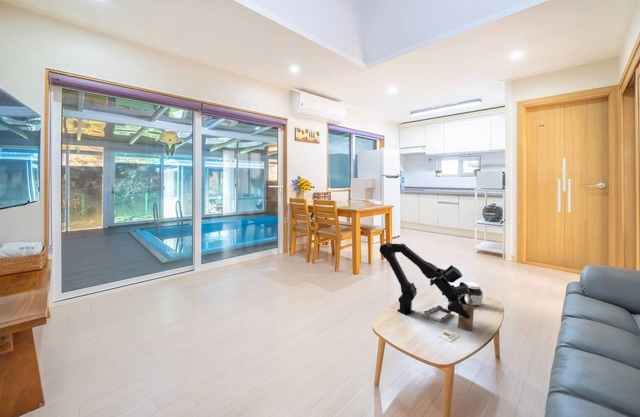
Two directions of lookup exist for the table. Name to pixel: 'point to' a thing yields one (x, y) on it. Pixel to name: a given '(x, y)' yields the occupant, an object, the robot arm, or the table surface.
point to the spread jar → (474, 294)
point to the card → (448, 335)
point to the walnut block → (464, 322)
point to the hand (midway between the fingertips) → (469, 314)
